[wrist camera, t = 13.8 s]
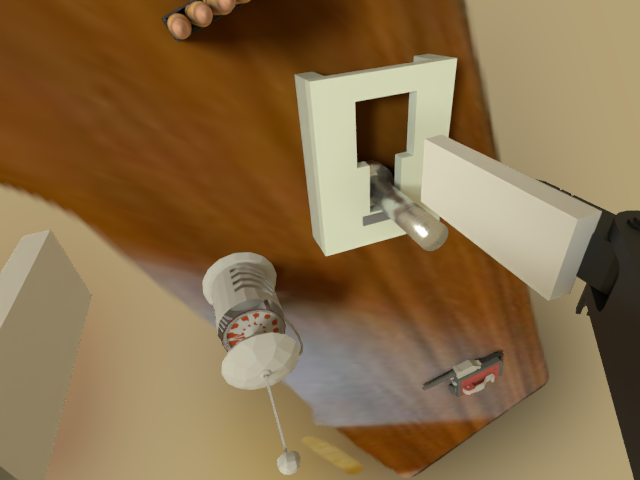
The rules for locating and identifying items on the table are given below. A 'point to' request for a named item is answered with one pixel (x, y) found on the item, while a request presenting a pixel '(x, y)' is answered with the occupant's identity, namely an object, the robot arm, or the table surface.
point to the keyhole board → (341, 150)
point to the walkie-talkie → (472, 375)
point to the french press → (252, 329)
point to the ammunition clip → (198, 16)
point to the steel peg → (404, 209)
